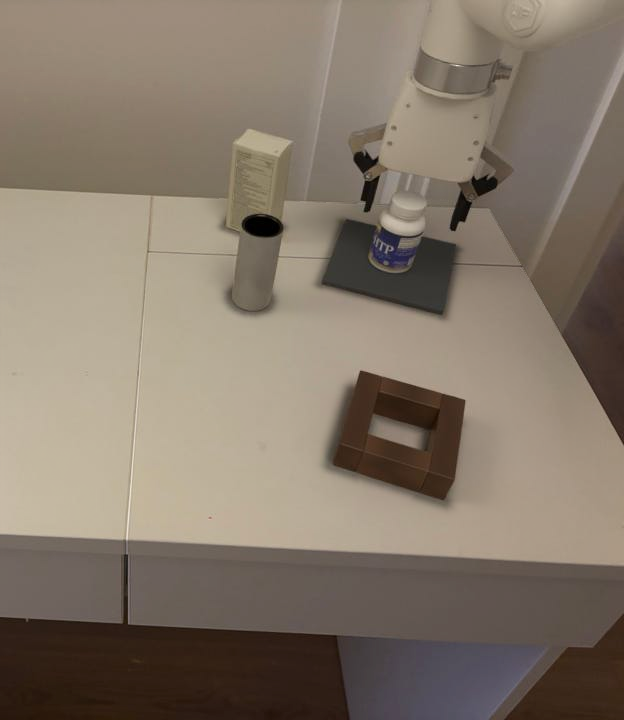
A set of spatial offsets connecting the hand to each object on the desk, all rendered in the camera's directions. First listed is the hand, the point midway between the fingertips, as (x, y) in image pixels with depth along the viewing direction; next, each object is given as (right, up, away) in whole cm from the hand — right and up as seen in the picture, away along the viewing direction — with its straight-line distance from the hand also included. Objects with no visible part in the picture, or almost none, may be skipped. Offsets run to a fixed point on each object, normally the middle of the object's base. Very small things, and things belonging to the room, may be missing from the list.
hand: (410, 215), depth 86 cm
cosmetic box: (-17, +1, +11) cm, 20 cm away
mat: (0, -5, +6) cm, 8 cm away
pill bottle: (-1, -5, +5) cm, 7 cm away
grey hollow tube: (-18, -10, +1) cm, 21 cm away
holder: (-6, -25, -14) cm, 29 cm away
